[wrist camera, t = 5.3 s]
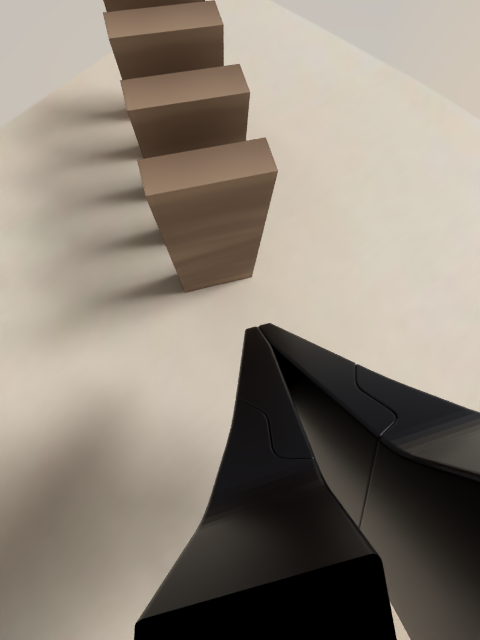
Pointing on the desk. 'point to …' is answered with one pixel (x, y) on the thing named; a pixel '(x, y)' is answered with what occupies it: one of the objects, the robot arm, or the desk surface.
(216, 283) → the domino
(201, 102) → the domino
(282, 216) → the desk surface
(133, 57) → the domino
